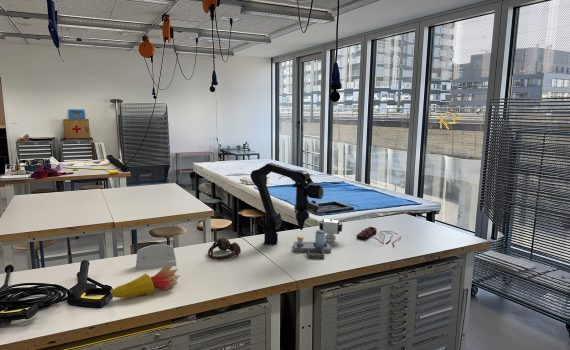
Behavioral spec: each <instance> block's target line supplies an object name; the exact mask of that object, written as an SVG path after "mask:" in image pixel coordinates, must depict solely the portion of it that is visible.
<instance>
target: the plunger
mask: <svg viewBox="0 0 570 350" xmlns="http://www.w3.org/2000/svg"><path fill="white" fill-rule="evenodd" d="M296 239H297V242H298V243H297V245H299V246H302V245H303V242H304V236H296Z"/></svg>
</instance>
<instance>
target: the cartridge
mask: <svg viewBox="0 0 570 350" xmlns="http://www.w3.org/2000/svg"><path fill="white" fill-rule="evenodd" d="M325 236H326V233H325V231H322V230H320V229H319V230H316V231H315V239H314V240H315V241H314V242H315V247H325V242H326V239H325Z"/></svg>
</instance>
